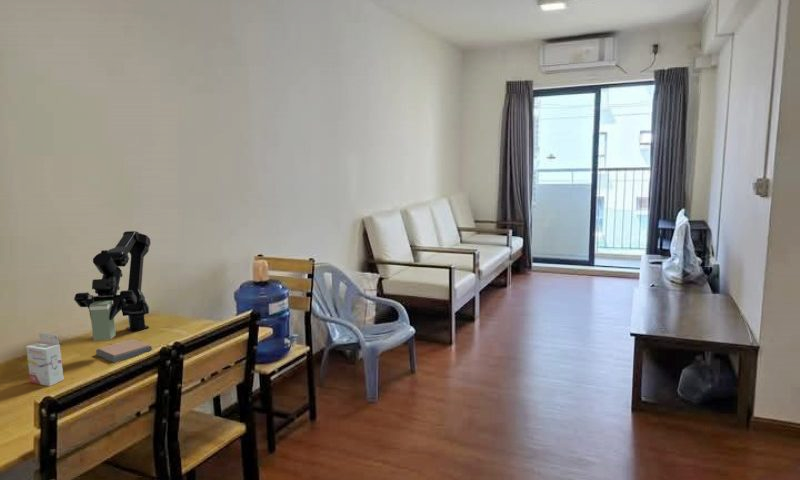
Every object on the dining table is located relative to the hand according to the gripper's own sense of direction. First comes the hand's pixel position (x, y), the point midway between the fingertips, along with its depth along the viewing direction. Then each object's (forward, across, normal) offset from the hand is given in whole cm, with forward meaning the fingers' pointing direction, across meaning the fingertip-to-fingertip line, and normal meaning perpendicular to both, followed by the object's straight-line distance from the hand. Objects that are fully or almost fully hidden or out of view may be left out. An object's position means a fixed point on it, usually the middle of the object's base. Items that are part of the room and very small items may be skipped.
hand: (101, 320), depth 179 cm
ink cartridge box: (+23, -10, -4) cm, 25 cm away
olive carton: (+4, 0, +6) cm, 7 cm away
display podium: (+7, +5, +12) cm, 15 cm away
